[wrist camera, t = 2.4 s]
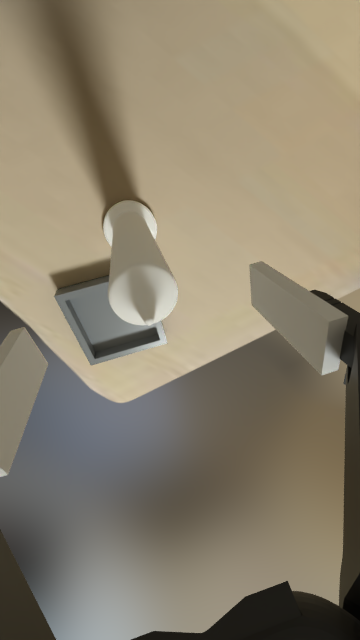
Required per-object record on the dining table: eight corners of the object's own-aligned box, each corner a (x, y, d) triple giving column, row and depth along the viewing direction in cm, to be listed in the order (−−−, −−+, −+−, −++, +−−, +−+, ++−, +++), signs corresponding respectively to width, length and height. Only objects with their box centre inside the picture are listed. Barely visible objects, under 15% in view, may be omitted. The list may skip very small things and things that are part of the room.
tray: (57, 289, 37) (54, 296, 34) (145, 265, 37) (146, 271, 35) (92, 355, 44) (91, 365, 41) (165, 334, 44) (167, 343, 42)
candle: (92, 214, 33) (47, 297, 12) (142, 190, 32) (186, 231, 11) (120, 262, 37) (122, 390, 16) (164, 241, 36) (227, 342, 15)
